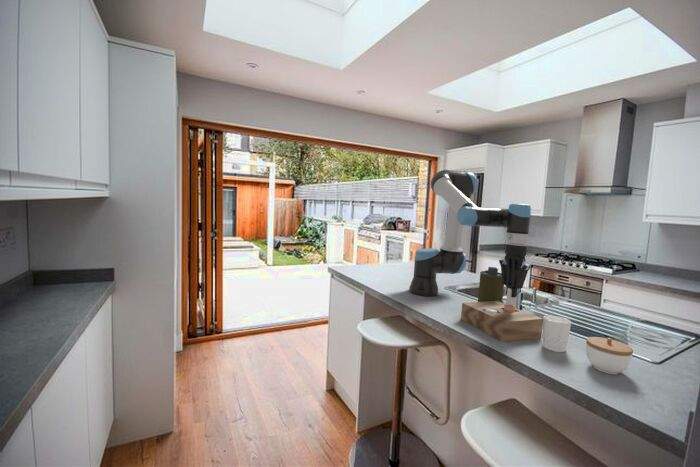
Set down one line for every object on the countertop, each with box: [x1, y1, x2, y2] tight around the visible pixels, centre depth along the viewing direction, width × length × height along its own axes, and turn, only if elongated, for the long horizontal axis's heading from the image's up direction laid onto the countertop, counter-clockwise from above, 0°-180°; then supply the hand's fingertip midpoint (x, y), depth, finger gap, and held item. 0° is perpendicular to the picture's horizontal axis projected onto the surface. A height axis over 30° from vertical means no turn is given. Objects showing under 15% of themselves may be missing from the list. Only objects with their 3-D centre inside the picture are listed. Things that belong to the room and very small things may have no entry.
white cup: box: [541, 314, 572, 353], centre depth 109 cm, size 8×8×10 cm
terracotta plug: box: [504, 303, 517, 312], centre depth 126 cm, size 4×4×6 cm
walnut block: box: [460, 301, 543, 343], centre depth 125 cm, size 22×18×7 cm
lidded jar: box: [585, 336, 634, 375], centre depth 95 cm, size 11×11×9 cm
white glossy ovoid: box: [486, 309, 497, 314], centre depth 123 cm, size 4×4×6 cm
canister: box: [477, 266, 505, 303], centre depth 145 cm, size 11×10×20 cm
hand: (510, 304), depth 126 cm, fingers closed
